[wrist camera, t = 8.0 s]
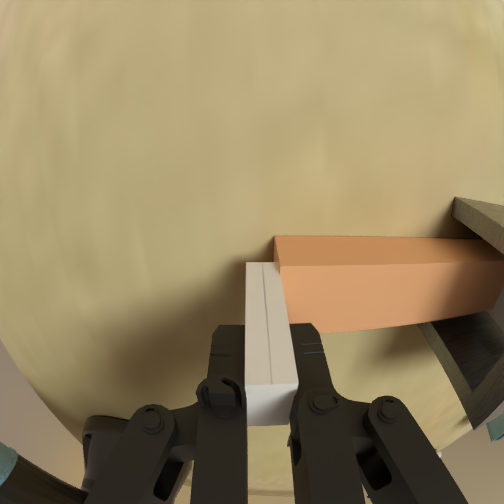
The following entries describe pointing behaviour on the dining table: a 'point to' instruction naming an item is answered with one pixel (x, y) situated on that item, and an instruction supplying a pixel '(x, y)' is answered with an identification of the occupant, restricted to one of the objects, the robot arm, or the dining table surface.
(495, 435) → the flower pot
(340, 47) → the dining table surface
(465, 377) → the block
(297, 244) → the orange bar on cube
